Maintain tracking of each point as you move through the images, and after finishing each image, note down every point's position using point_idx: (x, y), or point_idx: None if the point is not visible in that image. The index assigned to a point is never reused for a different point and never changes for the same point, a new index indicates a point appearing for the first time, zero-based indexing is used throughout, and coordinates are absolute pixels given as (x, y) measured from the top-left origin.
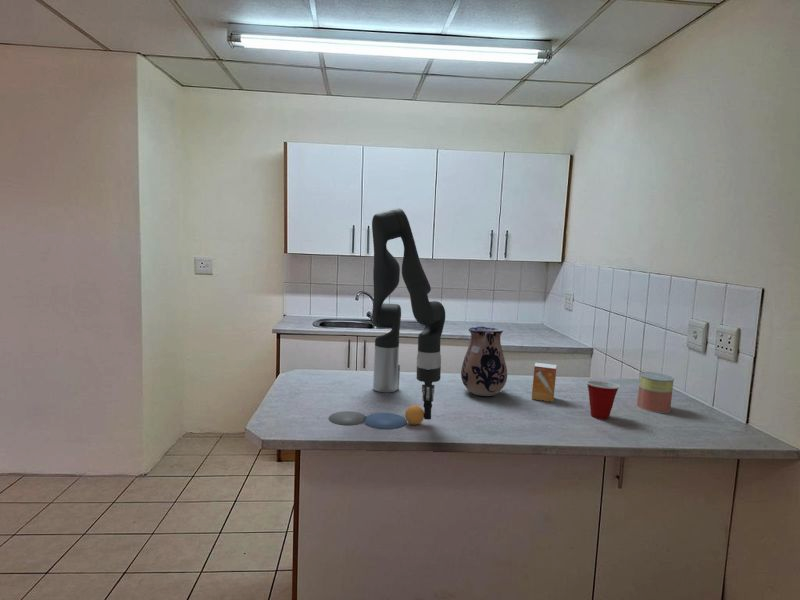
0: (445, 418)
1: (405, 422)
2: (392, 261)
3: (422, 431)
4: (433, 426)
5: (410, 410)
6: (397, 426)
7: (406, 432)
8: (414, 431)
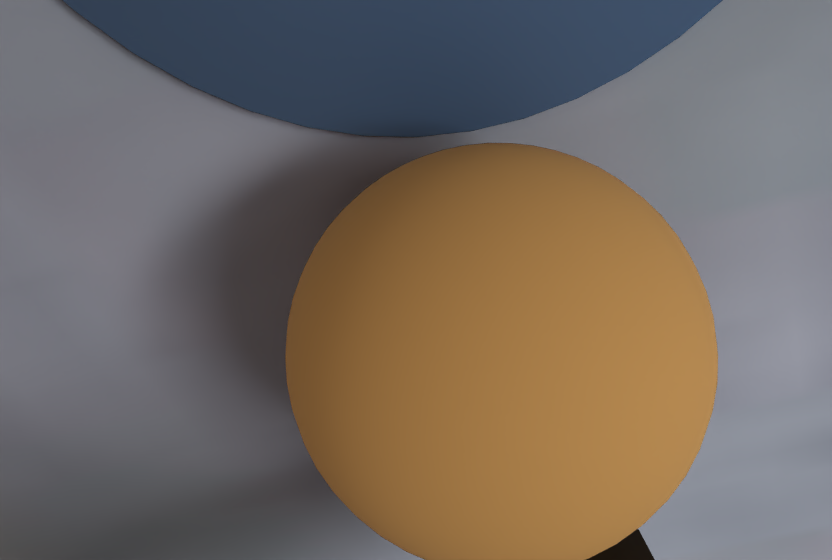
0: (771, 520)
1: (450, 113)
2: None
3: (220, 426)
4: None
5: (353, 392)
6: (161, 22)
7: (30, 249)
8: (153, 341)
